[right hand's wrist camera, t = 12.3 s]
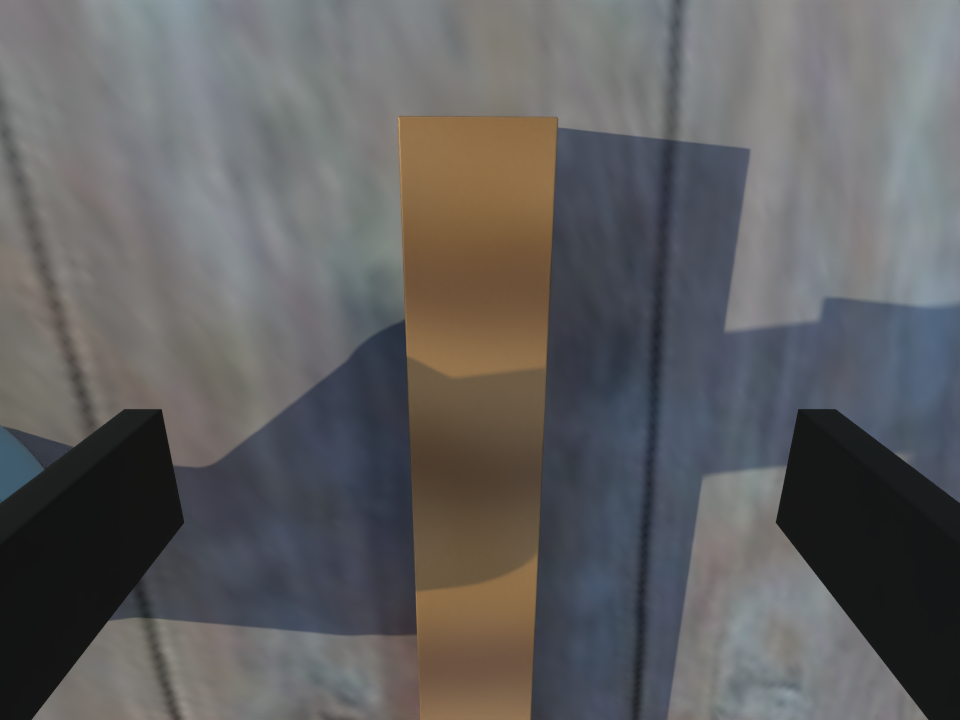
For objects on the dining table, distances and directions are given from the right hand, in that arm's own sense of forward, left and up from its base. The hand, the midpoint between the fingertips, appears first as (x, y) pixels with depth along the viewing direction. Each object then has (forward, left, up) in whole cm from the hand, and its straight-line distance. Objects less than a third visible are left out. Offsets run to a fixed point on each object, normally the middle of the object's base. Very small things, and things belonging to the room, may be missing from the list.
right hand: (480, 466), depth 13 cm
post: (+9, +15, -20) cm, 27 cm away
